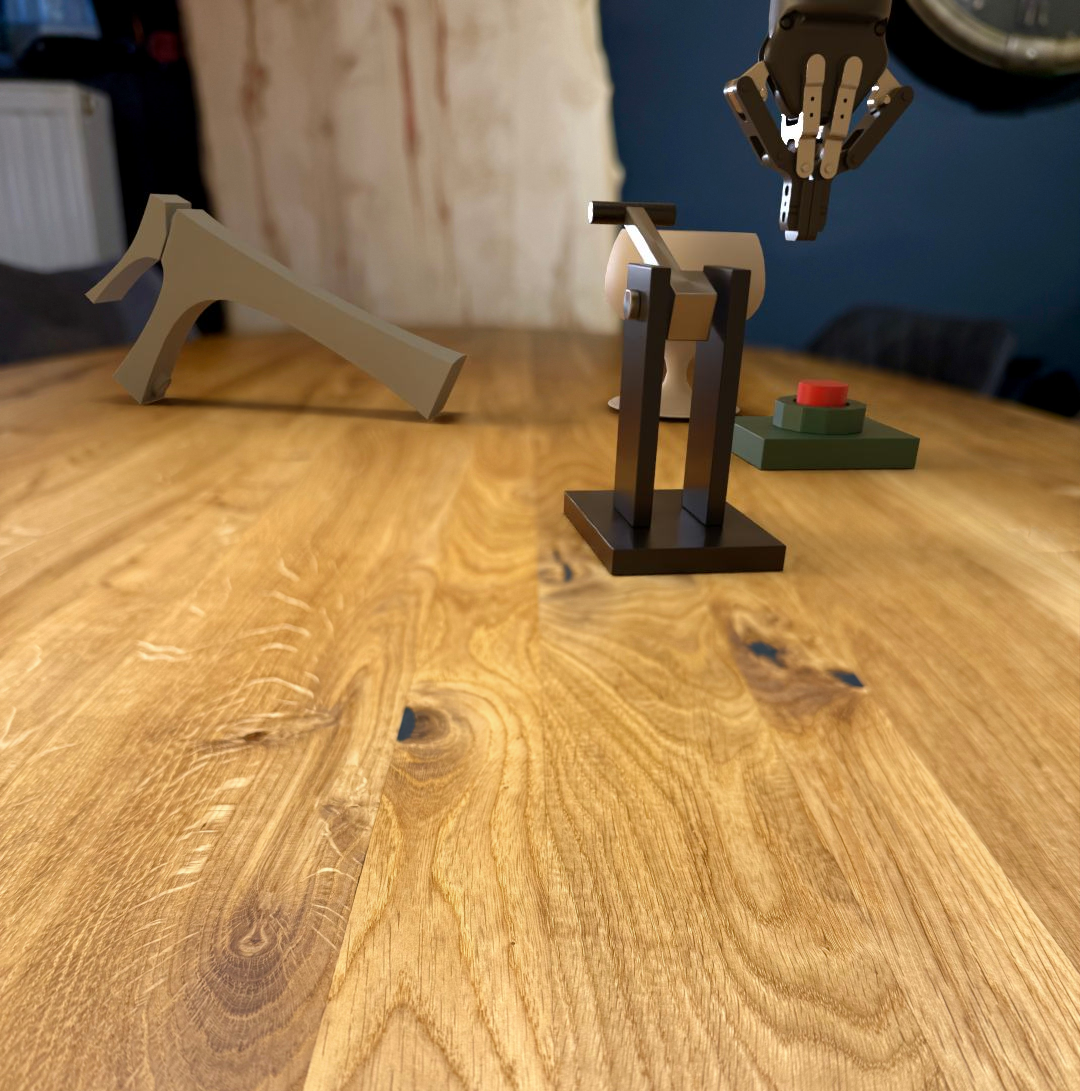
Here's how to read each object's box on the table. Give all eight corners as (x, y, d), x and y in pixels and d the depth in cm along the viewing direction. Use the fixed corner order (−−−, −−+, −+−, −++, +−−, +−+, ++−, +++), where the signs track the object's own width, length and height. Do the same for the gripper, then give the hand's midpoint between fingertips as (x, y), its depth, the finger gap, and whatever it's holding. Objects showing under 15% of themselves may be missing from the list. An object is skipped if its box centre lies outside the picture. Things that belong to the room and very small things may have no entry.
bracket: (563, 512, 61) (573, 258, 55) (707, 509, 63) (733, 262, 57) (611, 575, 51) (631, 270, 45) (783, 570, 52) (824, 275, 46)
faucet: (393, 517, 96) (98, 357, 94) (469, 352, 89) (151, 172, 86) (374, 536, 91) (61, 365, 88) (454, 361, 83) (114, 169, 81)
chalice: (571, 401, 98) (579, 226, 92) (696, 396, 104) (711, 231, 97) (645, 427, 87) (660, 230, 80) (781, 420, 92) (805, 235, 86)
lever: (585, 229, 61) (591, 186, 59) (667, 232, 61) (674, 189, 60) (639, 340, 51) (647, 292, 49) (734, 341, 52) (746, 294, 50)
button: (832, 403, 79) (836, 379, 78) (853, 411, 76) (857, 386, 75) (788, 403, 78) (791, 379, 77) (807, 411, 75) (811, 386, 74)
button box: (859, 443, 84) (868, 392, 82) (915, 468, 76) (925, 412, 74) (718, 444, 81) (724, 392, 80) (760, 470, 74) (767, 412, 72)
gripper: (761, -92, 59) (728, 239, 67) (969, -74, 62) (915, 244, 69) (717, -62, 66) (692, 237, 74) (906, -46, 68) (863, 241, 76)
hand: (800, 240), depth 72 cm, fingers closed
